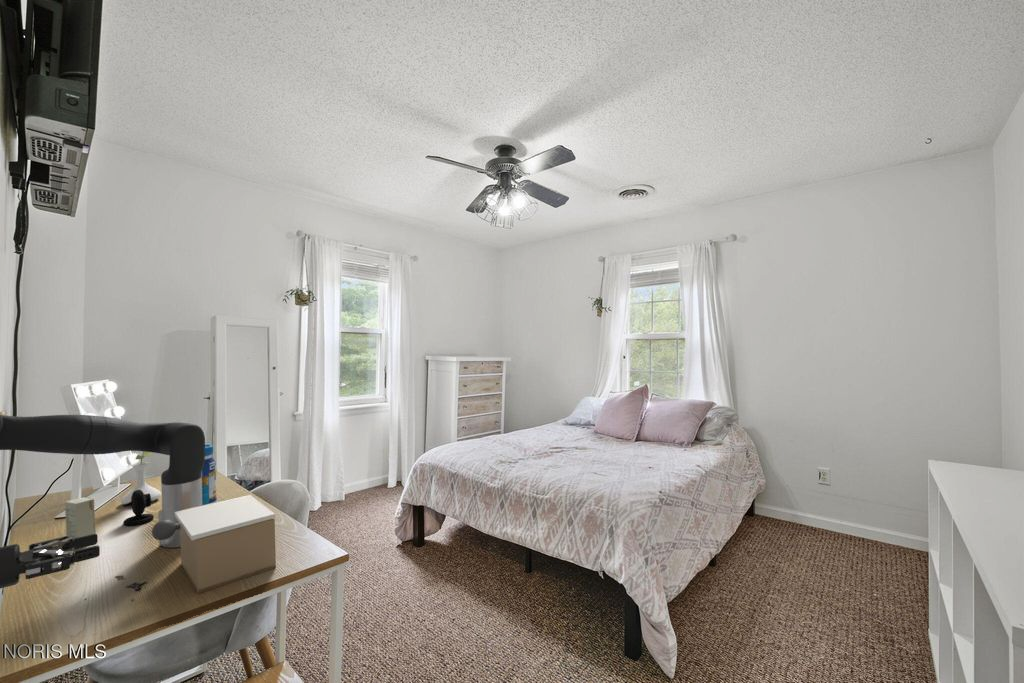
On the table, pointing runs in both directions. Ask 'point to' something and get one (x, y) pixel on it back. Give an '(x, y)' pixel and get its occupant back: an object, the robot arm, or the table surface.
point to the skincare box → (80, 517)
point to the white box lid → (214, 518)
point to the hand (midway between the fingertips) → (98, 544)
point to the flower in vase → (141, 481)
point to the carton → (228, 555)
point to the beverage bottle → (209, 477)
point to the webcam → (138, 509)
